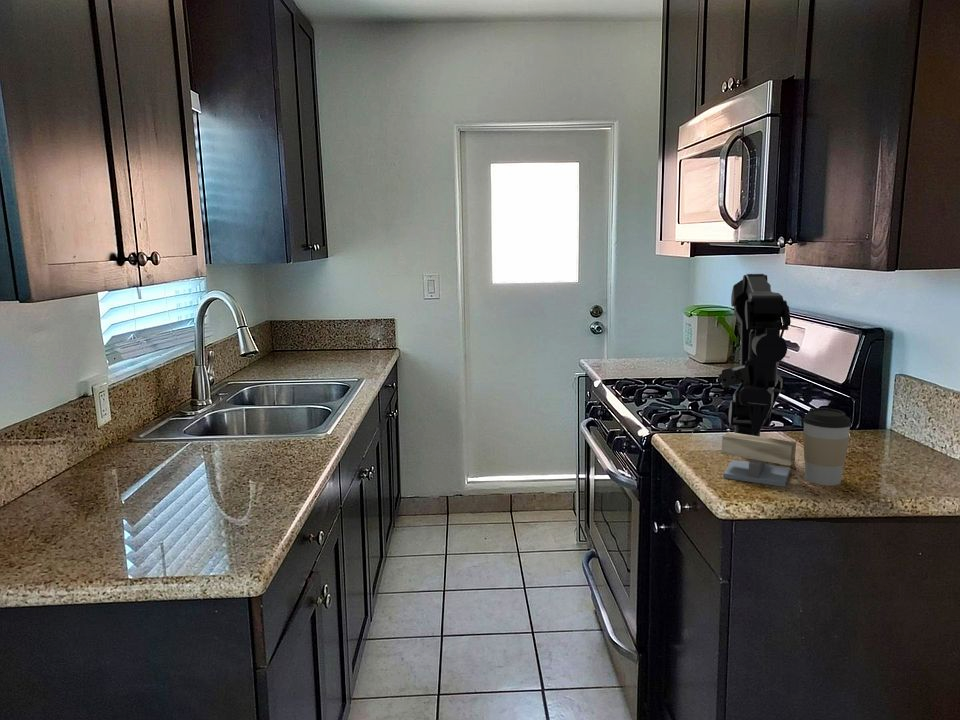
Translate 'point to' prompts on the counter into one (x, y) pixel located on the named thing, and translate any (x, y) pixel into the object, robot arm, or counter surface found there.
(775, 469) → the ridge stand
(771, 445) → the ash bar
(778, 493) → the counter surface
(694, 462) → the counter surface
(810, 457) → the coffee cup
